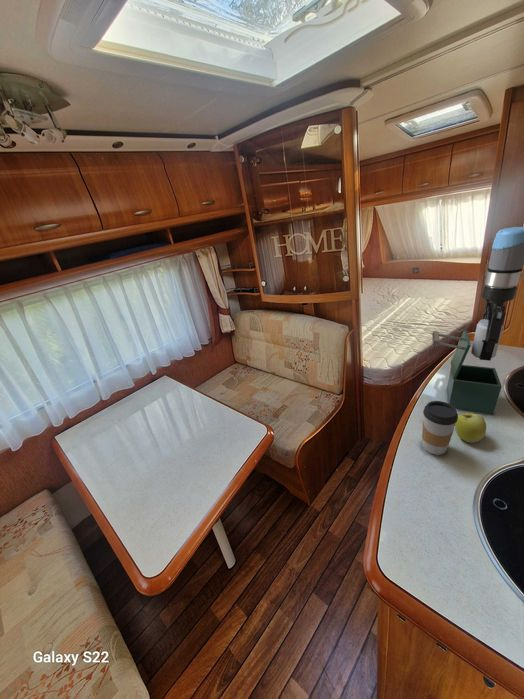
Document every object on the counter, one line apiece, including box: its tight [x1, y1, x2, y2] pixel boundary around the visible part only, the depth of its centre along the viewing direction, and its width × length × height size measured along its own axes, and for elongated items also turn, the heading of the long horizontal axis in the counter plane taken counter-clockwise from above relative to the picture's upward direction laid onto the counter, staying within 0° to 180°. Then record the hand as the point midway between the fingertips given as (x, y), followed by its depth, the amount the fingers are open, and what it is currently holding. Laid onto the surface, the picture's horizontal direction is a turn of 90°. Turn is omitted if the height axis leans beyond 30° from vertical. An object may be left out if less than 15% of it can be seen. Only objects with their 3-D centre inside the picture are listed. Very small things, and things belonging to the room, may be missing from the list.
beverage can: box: [470, 318, 504, 359], centre depth 87 cm, size 6×6×12 cm
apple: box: [454, 412, 487, 443], centre depth 83 cm, size 8×8×10 cm
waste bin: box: [446, 364, 503, 416], centre depth 96 cm, size 13×12×12 cm
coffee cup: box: [421, 400, 459, 456], centre depth 80 cm, size 8×8×15 cm
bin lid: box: [431, 329, 472, 379], centre depth 94 cm, size 13×12×10 cm
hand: (483, 354), depth 89 cm, fingers closed on beverage can, 6 cm apart
